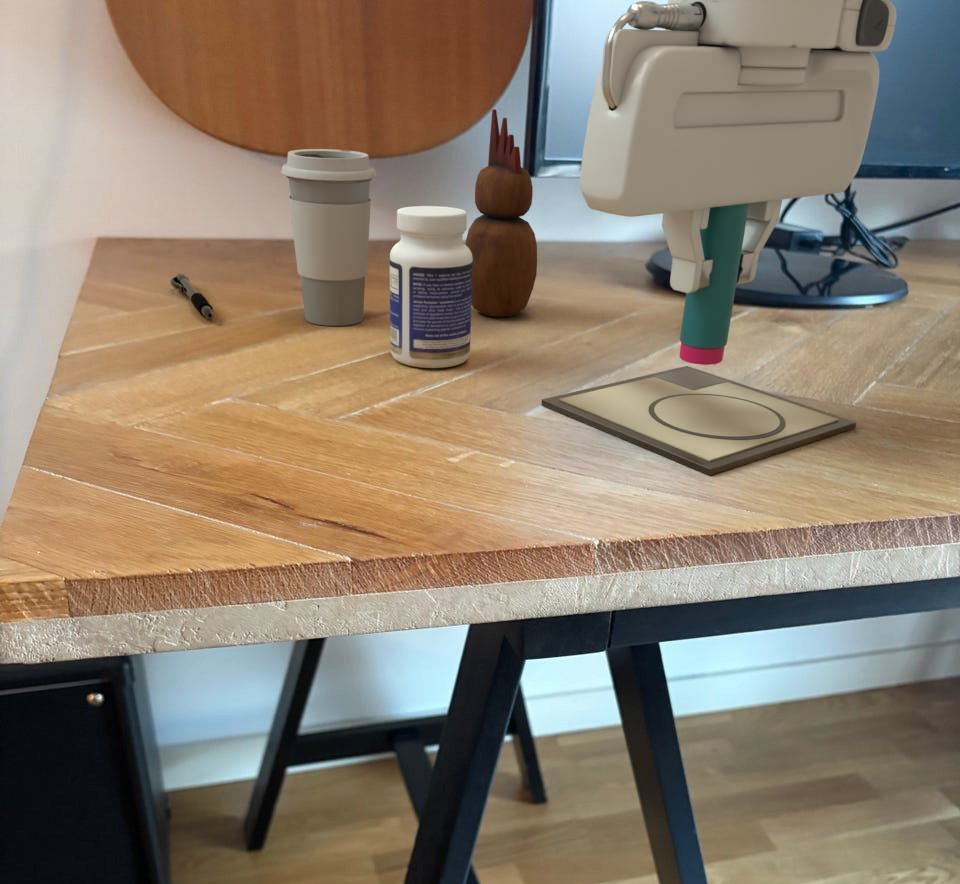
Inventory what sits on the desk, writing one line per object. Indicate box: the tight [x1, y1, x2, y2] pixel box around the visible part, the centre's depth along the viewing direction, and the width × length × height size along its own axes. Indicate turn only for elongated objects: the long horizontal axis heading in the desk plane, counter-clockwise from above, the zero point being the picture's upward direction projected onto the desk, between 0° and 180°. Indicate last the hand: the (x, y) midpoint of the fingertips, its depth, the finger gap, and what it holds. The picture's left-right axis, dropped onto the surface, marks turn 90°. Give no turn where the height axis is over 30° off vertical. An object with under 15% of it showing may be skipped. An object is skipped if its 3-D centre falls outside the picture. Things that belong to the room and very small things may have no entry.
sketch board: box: [540, 365, 857, 476], centre depth 63 cm, size 14×14×1 cm
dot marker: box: [679, 203, 749, 366], centre depth 58 cm, size 3×3×12 cm
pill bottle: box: [389, 205, 473, 369], centre depth 69 cm, size 6×6×10 cm
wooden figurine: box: [464, 109, 538, 318], centre depth 80 cm, size 7×6×15 cm
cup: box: [281, 148, 377, 327], centre depth 77 cm, size 7×7×12 cm
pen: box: [170, 273, 214, 319], centre depth 82 cm, size 14×2×1 cm, turn 24°
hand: (712, 286), depth 58 cm, fingers closed on dot marker, 3 cm apart
